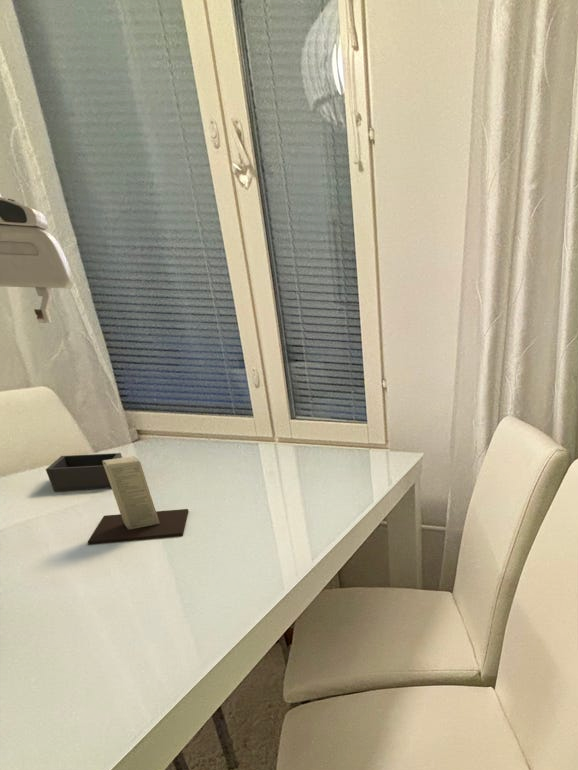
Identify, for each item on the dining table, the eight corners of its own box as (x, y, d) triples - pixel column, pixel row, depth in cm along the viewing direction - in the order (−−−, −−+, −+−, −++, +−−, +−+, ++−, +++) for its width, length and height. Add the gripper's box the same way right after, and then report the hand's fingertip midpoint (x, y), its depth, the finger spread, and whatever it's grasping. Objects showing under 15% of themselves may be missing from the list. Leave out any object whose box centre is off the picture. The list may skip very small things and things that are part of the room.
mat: (88, 544, 89) (87, 541, 89) (104, 518, 100) (103, 515, 100) (183, 535, 94) (182, 532, 93) (188, 511, 105) (188, 508, 104)
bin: (54, 491, 114) (45, 469, 111) (68, 476, 124) (61, 455, 121) (117, 487, 117) (110, 465, 115) (127, 473, 127) (120, 452, 125)
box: (154, 518, 99) (136, 455, 94) (160, 524, 97) (141, 460, 91) (121, 523, 97) (100, 459, 91) (127, 530, 94) (105, 464, 88)
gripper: (-141, 198, 71) (-86, 321, 78) (46, 211, 77) (80, 323, 84) (-116, 205, 76) (-67, 320, 83) (57, 216, 82) (89, 322, 89)
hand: (9, 322), depth 84 cm, fingers open, 8 cm apart
